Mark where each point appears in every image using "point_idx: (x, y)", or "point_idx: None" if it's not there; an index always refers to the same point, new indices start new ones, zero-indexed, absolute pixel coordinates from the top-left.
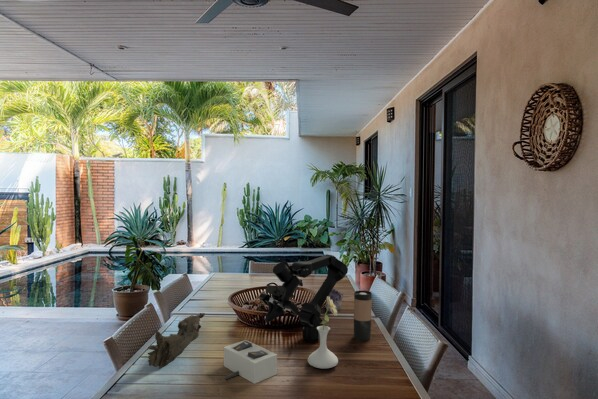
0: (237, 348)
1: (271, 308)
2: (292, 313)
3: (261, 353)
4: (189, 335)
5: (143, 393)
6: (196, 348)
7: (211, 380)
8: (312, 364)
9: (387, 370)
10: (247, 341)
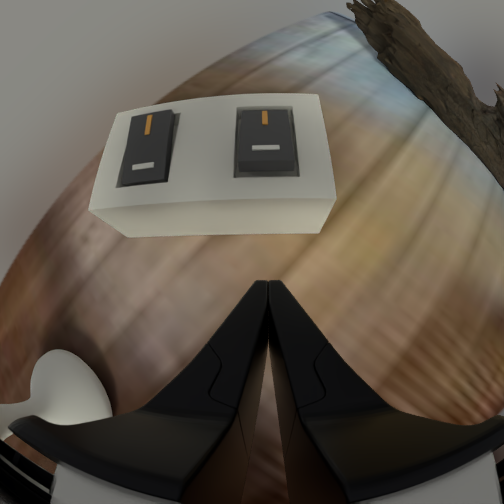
0: (262, 114)
1: (299, 423)
2: (46, 472)
3: (137, 159)
4: (499, 151)
5: (293, 23)
6: (463, 166)
7: (249, 88)
8: (63, 351)
9: (8, 443)
10: (275, 159)
